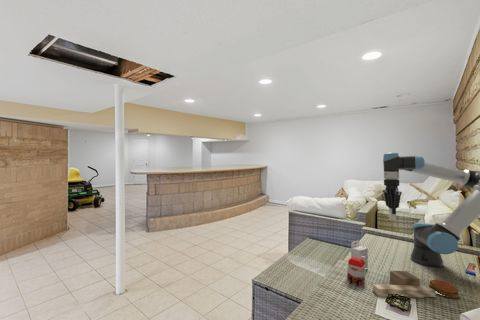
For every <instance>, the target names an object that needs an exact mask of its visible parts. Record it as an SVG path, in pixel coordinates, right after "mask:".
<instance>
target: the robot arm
mask: <svg viewBox="0 0 480 320" xmlns="http://www.w3.org/2000/svg"><path fill="white" fill-rule="evenodd" d="M382 162H383V163H382V164H383V165H382V166H383V185H384V186H385V189H383V190H382V193H383V195H384V202H385V206H386V207H388V212H389V213H388V214H389V220H391V221H392V220H393V221H396V220H397V209H398V208H400V202H401V196H402V193H403V192H402V191H399V186H400V171H406V172H410V173H415V174H418V175H419V174H421V175H424V176H427V177H428V176H429V177H432V178H437V179H441V180H445V181H448V182H449V181H450V182H454V183H457V184H458V185H460V186H462V187H466V188H470V189H473V191H472V192H471V193H470V194H469V195H468V196H467V197H466V198H465V199H464V200H463V201H462V202H461V203H460V204H459V205H458V206H457V207H455V209H454V210H453V211H452V212H451V213H450V214H449V215H448V216H447V217H446V218H445V219H444V220H443V221H442V222H436V223H435V224H434V223H423V222H414V223H413V227H412V229H413V248H412V250H411V253H410V260H411V261H412V262H414V263H417V264H419V265H422V266H427V267H433V268H442V267H444V260H443V258H442V255H450V254H453V253H456V251H457V250H458V248H459V242H460V240H461V234H462V233H463V232H464V231H465V230H466V229H467V228H468V227H469V226H470V225H472V224H473V222H474V221H476V219H478V217H480V170H472V169H471V170H470V169H463V170H462V169H461V170H460V169H457V168H452V167H447V166H443V165H439V164H435V163H434V164H433V163H430V162H429V163H428V162H425V159H424V157H423V156H421V155H409V156H408V155H404V156H400V155H399V153H398V152H386V153H383V158H382ZM399 170H400V171H399Z"/></svg>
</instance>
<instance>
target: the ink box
mask: <svg viewBox="0 0 480 320" xmlns="http://www.w3.org/2000/svg"><path fill="white" fill-rule="evenodd" d="M350 246H351V247H350V259H351V258H352V257H354V258H358V259H361V256H365V257H366V260H365V261H364V262H365V268H369V267H368V265H369V264H368V263H369V261H368V260H369V256H368V254H369V253H368V249H369V248H368V247H365V246H362V245H360V239H358V240H353V241H351V245H350Z"/></svg>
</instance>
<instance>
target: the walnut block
mask: <svg viewBox="0 0 480 320" xmlns="http://www.w3.org/2000/svg"><path fill="white" fill-rule="evenodd" d="M390 282H391V283H392V284H393V285H417V286H421V280H420V278H419V277H417V276H416V275H414V274H413V273H411V272H410V271H407V270H389V283H390ZM391 283H390V284H391ZM392 284H391V285H392Z"/></svg>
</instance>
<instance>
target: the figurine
mask: <svg viewBox="0 0 480 320" xmlns="http://www.w3.org/2000/svg"><path fill="white" fill-rule="evenodd" d="M365 260H366V257H365V256H361V259H358V258H354V257H352V258H351V257H350V258H349V259H348V263H347V266H348V267H347V273H346V274H347V275H346V278H347V280H348V281H349V284H356V286H358V287H359V286H362V285H363V284H364V283H365V281H366V275H367V274H366V273H367V272H366V271H367V270H366V269H365V262H364V261H365Z"/></svg>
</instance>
